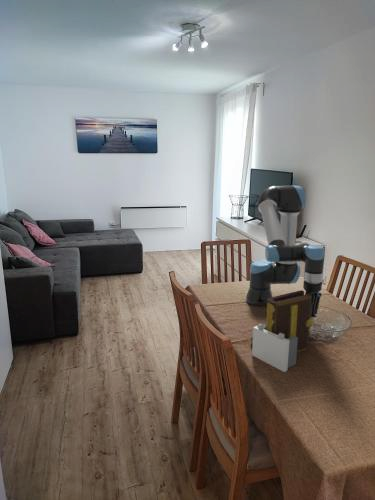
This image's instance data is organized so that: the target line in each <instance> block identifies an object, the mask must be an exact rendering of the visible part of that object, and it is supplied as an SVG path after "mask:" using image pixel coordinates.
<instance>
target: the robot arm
mask: <svg viewBox="0 0 375 500" xmlns="http://www.w3.org/2000/svg"><path fill="white" fill-rule="evenodd" d="M306 199H307V198H306V193H305V190H304V188H303V187H302V186H301V185H271V186H269V187H266V188H265V189H264V190H262V191H261V193H260V195H259V197H258V199H257V209H258V212H259V213H260V214H261V217H262V222H263V225H264V231H265V236H266V241H267V243H268V245H266V247H265V249H264V250H265V252H264V254H265V255H264V256H265V259H257V260H254V261H253V262H252V263H251V264H250V267H249V288H248V290H247V293H246V296H245V302H246V303H248V304H249V305H251V306H254V307H267V299H268V298H270V297H274V296H273V293H272V289H271V285H291V284H296V283H297V282H298V281H299V278H300V276H301V265H300V264H299V263H300V262H303V263H304V272H303V273H304V274H303V285H302V286H303V290H305V291H304V295H307V294H311V295H312V303H311V315H310V316H311V317H312V318H313V321H314V318H317V314H318V310H319V305H320V301H321V297H322V294H323V293H322V292H321V291H322V287H323V286H322V285H323V274H324V263H325V255H326V254H325V250H326V249H325V247H324V246H323V245H319V244H310V243H307V242H300V243H299V244H297V243H296V242H297V241H296V240H297V225H298V215H299V214H300V213H301V212H302V209H304V208H305V206H306V204H307V203H306ZM277 209H278V210H277ZM278 213H279V214H280V220H279V215H278ZM298 262H299V263H298ZM309 330H310V331H311V330H314V325H313V326H311V327H310V328H309ZM310 331H309V332H310ZM311 332H312V331H311Z"/></svg>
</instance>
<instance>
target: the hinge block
mask: <svg viewBox="0 0 375 500" xmlns="http://www.w3.org/2000/svg"><path fill="white" fill-rule="evenodd" d="M250 345H252V346H253V334H252V335H251V337H250Z"/></svg>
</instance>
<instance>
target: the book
mask: <svg viewBox="0 0 375 500" xmlns="http://www.w3.org/2000/svg"><path fill="white" fill-rule="evenodd" d="M311 303H312V295H311V294H307V295H305V291H304V290H302V289H301V290H297V291H293V292H289V293H288V292H287V293H284V294H279V295H275V296H273V297H270V298H268V299H267V306H266V313H265V314H266V317H265V324H266V330H267V331H269V332H272V333H274V334H276V335H278V334H279V333H282V334H284V335H285V337H284V338H285V339H287V338H290V337H293V336H296V337H298V341H297V354H298V353H301V352H304V351H307V350H309V338H310V331H309V328H310V327H311V326H313V327H314V320H313V318H312V317H311V316H310V315H311Z"/></svg>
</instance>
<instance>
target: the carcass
mask: <svg viewBox="0 0 375 500" xmlns="http://www.w3.org/2000/svg"><path fill="white" fill-rule="evenodd" d="M252 335H253V345H252V354H251V356H252V355H253V357H254V358H257V359H259V360H260V361H262V362H264V363H266V364H268V365H270V366H272V367H274V368H275V369H277V370H279V371H281V372H283V373H285V372H287V371H288V368H291V367H293V366H295V365H296V364H297V354H298V353H297V341H298V337H296V336H293V337H290V338H287V339H285V338H284V337H285V335H284V334H282V333H279V334H278V335H276V334H274V333H272V332H269V331H267V330H266V323H264V324H261V323H258V325H255V326H253V327H252Z"/></svg>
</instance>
